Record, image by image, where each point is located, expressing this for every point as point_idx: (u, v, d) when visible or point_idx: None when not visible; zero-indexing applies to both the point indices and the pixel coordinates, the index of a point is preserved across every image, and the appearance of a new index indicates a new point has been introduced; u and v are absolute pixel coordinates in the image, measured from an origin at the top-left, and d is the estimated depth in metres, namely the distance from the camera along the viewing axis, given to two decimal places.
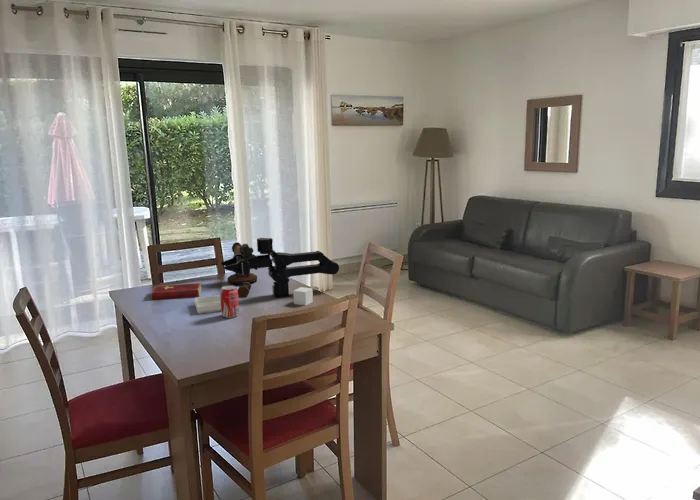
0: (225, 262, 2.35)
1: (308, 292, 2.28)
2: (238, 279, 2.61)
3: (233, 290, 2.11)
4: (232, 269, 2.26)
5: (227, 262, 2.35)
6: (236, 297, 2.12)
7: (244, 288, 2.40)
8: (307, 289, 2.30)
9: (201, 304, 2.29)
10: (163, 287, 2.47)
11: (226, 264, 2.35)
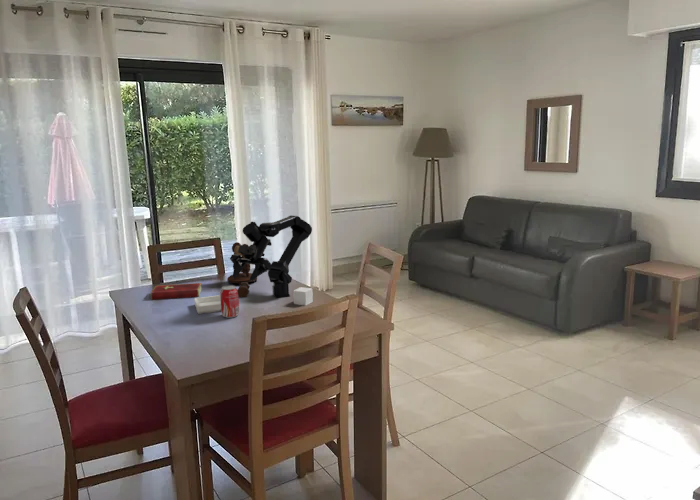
0: (235, 273, 2.22)
1: (308, 292, 2.28)
2: (238, 279, 2.61)
3: (233, 290, 2.11)
4: (257, 275, 2.18)
5: (236, 272, 2.22)
6: (236, 297, 2.12)
7: (244, 288, 2.40)
8: (307, 289, 2.30)
9: (201, 304, 2.29)
10: (163, 287, 2.48)
11: (237, 274, 2.23)
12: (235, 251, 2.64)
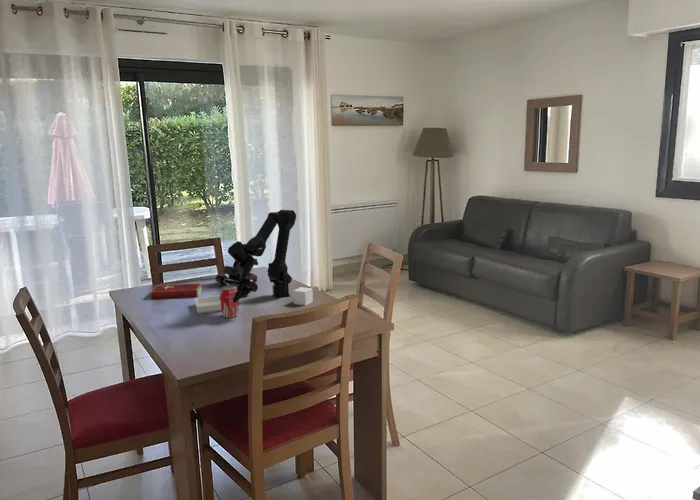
0: None
1: (308, 292, 2.28)
2: None
3: (233, 290, 2.11)
4: (240, 296, 2.12)
5: None
6: None
7: None
8: (307, 289, 2.30)
9: (201, 304, 2.29)
10: (163, 287, 2.48)
11: None
12: None
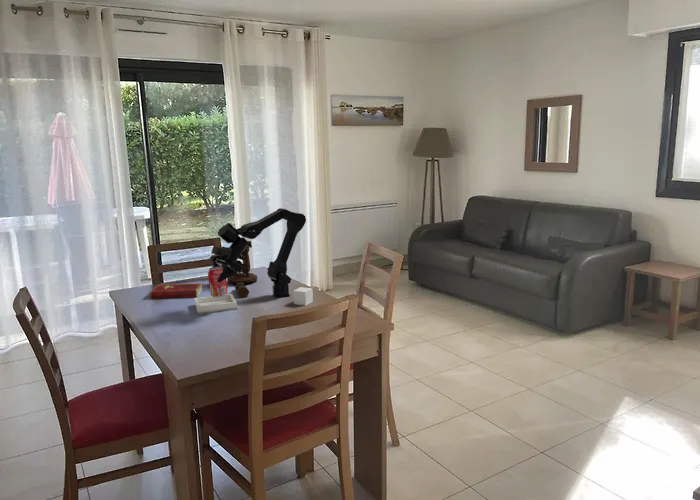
0: None
1: (308, 292, 2.28)
2: (238, 279, 2.61)
3: (218, 270, 2.17)
4: (225, 276, 2.17)
5: None
6: None
7: (244, 288, 2.40)
8: (307, 289, 2.30)
9: (201, 304, 2.29)
10: (164, 286, 2.49)
11: None
12: None
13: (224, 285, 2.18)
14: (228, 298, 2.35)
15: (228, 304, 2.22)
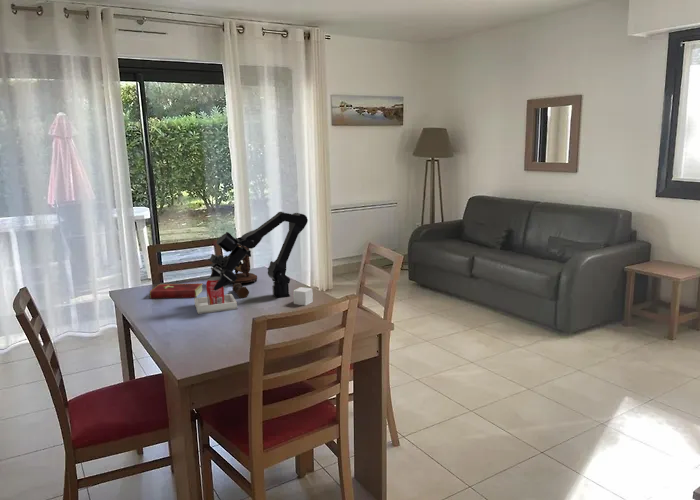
0: None
1: (308, 292, 2.28)
2: (238, 279, 2.61)
3: (215, 281, 2.22)
4: (221, 285, 2.21)
5: None
6: None
7: (244, 289, 2.40)
8: (307, 289, 2.30)
9: (201, 304, 2.29)
10: (164, 286, 2.49)
11: None
12: None
13: (220, 296, 2.23)
14: (228, 298, 2.35)
15: (228, 304, 2.22)
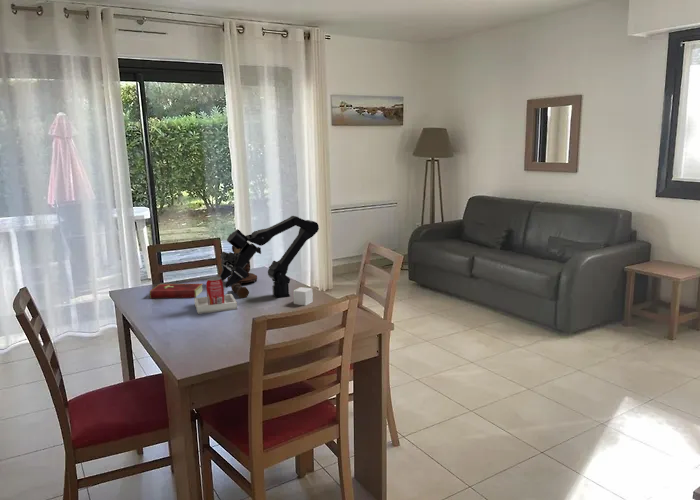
0: (221, 278, 2.31)
1: (308, 292, 2.28)
2: None
3: (215, 281, 2.22)
4: (232, 282, 2.23)
5: (222, 276, 2.32)
6: (218, 288, 2.22)
7: (244, 289, 2.39)
8: (307, 289, 2.30)
9: (201, 304, 2.29)
10: (164, 286, 2.49)
11: (223, 278, 2.32)
12: (235, 251, 2.64)
13: (220, 296, 2.23)
14: (228, 298, 2.35)
15: (228, 304, 2.22)
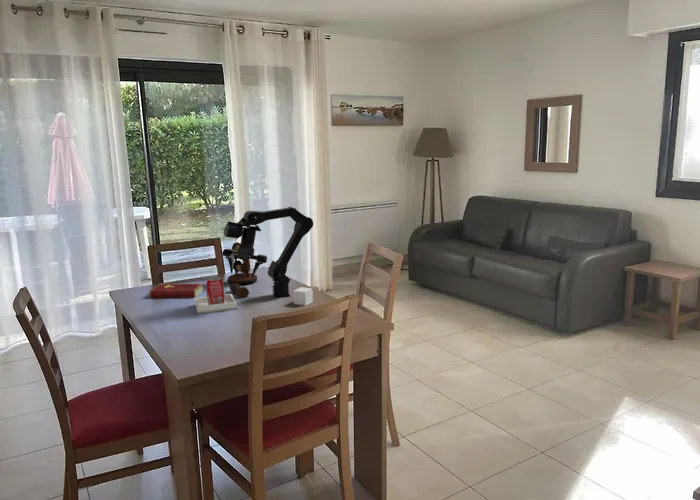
0: (232, 268, 2.31)
1: (308, 292, 2.28)
2: (238, 279, 2.61)
3: (215, 281, 2.22)
4: (256, 269, 2.32)
5: (232, 267, 2.31)
6: (218, 288, 2.22)
7: (244, 289, 2.39)
8: (307, 289, 2.30)
9: (201, 304, 2.29)
10: (165, 286, 2.50)
11: (232, 267, 2.32)
12: (235, 251, 2.64)
13: (220, 296, 2.23)
14: (228, 298, 2.35)
15: (228, 304, 2.22)
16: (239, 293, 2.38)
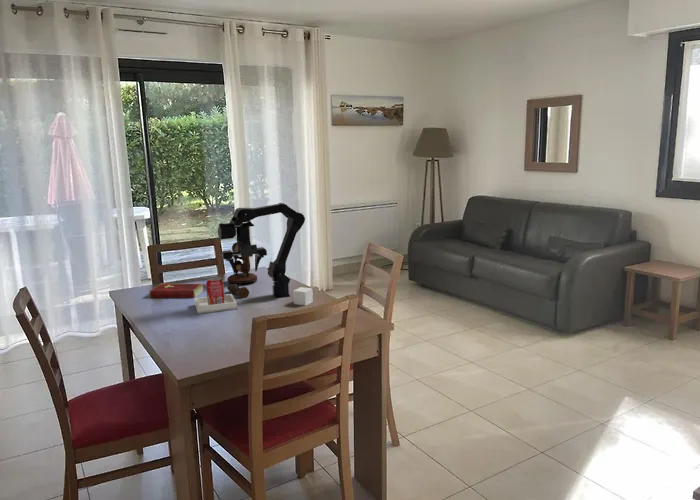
0: (234, 269, 2.30)
1: (308, 292, 2.28)
2: (238, 279, 2.61)
3: (215, 281, 2.22)
4: None
5: None
6: (218, 288, 2.22)
7: (245, 289, 2.39)
8: (307, 289, 2.30)
9: (201, 304, 2.29)
10: (165, 285, 2.50)
11: None
12: (235, 251, 2.64)
13: (220, 296, 2.23)
14: (228, 298, 2.35)
15: (228, 304, 2.22)
16: (240, 293, 2.38)
